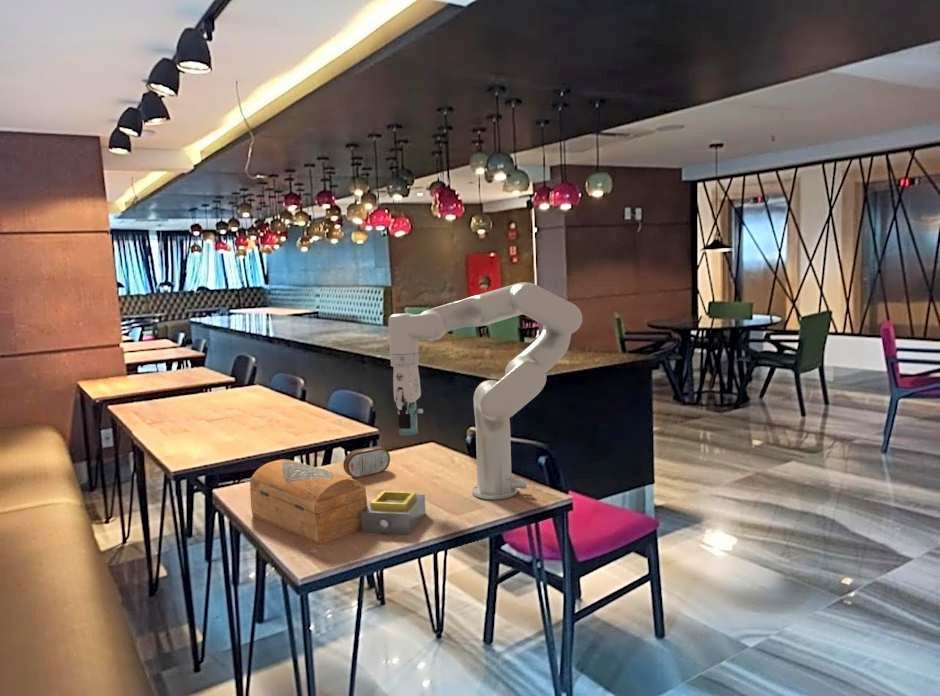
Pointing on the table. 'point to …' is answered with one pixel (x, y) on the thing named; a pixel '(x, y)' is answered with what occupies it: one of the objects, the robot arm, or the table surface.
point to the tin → (366, 461)
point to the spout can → (413, 416)
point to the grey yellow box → (393, 513)
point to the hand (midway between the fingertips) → (408, 425)
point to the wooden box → (307, 500)
